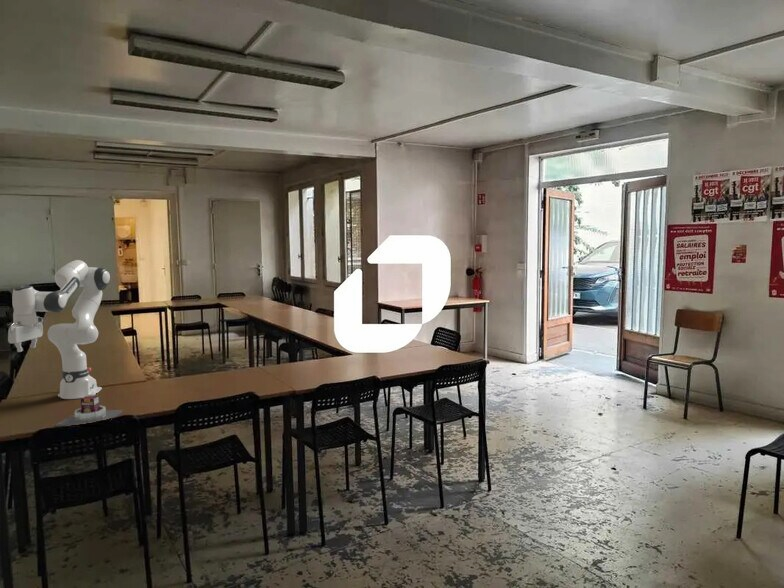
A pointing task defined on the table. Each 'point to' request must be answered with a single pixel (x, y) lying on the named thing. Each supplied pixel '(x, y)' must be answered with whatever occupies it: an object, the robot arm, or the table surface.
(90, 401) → the supplement box
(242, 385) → the table surface
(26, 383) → the table surface
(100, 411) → the duct collar
